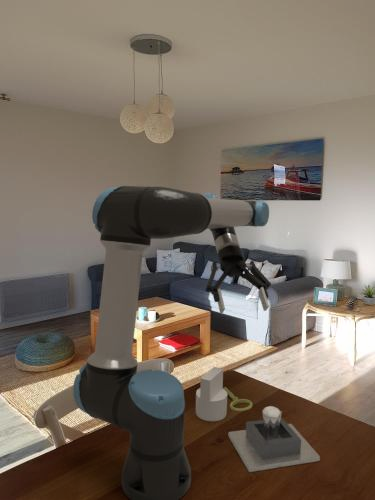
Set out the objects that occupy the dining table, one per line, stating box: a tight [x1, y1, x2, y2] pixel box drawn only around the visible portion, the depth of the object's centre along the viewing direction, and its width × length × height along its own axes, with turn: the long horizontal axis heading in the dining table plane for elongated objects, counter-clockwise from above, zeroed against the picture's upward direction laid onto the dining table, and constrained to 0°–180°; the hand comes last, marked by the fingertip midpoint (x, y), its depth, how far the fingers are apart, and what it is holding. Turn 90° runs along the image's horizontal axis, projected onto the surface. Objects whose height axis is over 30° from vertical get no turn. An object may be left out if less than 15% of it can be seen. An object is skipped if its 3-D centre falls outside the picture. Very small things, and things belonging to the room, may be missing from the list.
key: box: [223, 386, 253, 412], centre depth 122 cm, size 7×12×2 cm, turn 44°
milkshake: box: [262, 405, 283, 441], centre depth 99 cm, size 4×5×10 cm
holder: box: [228, 416, 321, 473], centre depth 99 cm, size 18×14×5 cm
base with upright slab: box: [195, 366, 228, 422], centre depth 115 cm, size 9×9×12 cm
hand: (244, 309), depth 115 cm, fingers open, 13 cm apart
